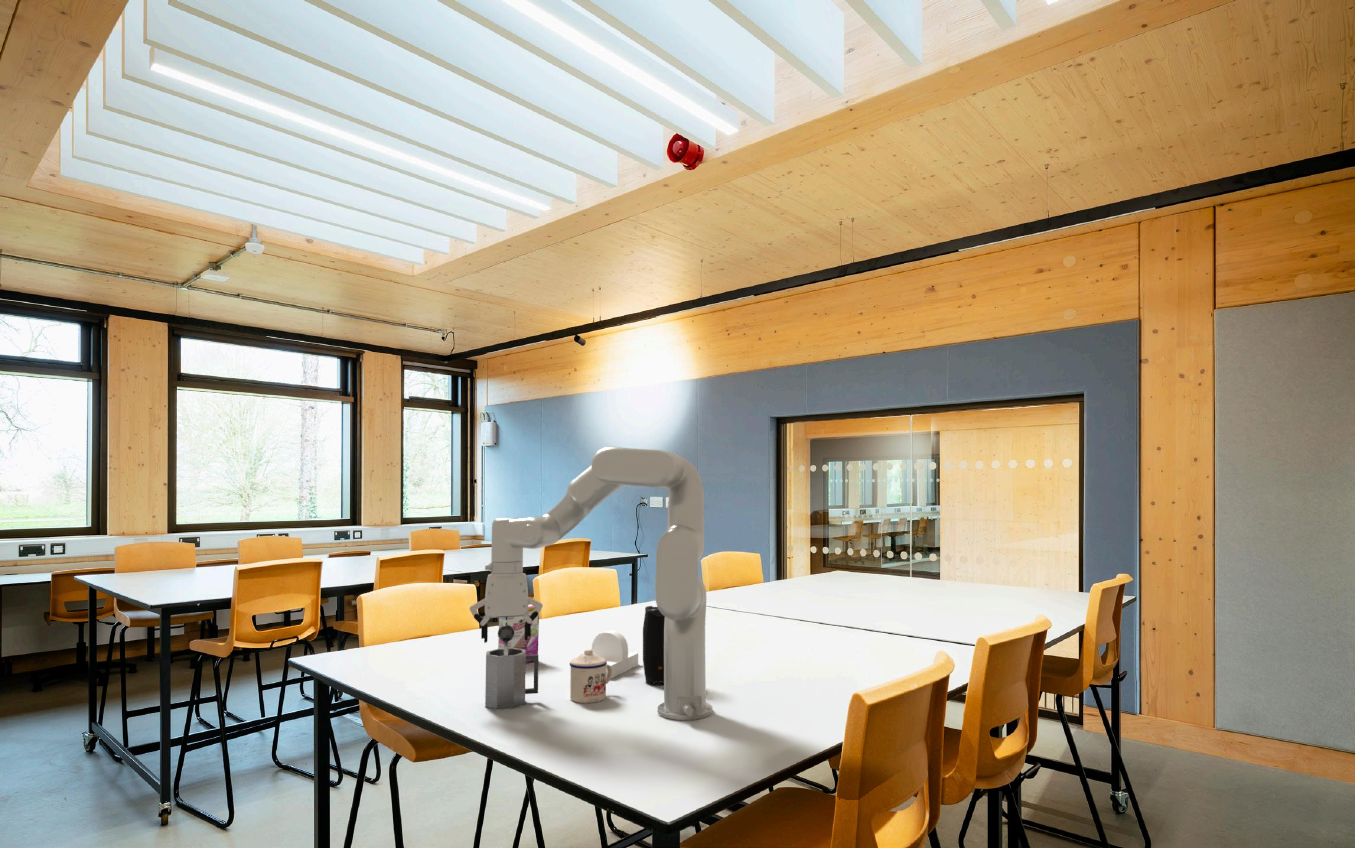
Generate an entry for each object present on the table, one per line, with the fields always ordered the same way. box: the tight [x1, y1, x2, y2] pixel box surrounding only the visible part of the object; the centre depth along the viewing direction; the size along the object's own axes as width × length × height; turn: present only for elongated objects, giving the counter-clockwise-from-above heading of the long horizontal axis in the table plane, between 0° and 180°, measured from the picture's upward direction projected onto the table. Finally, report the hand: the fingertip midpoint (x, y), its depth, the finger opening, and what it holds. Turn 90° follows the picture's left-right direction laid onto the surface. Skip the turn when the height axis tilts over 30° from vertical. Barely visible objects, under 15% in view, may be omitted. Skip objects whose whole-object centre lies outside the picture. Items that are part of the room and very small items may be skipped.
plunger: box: [497, 625, 515, 656], centre depth 179 cm, size 6×6×16 cm
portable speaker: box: [642, 605, 665, 686], centre depth 198 cm, size 9×9×20 cm
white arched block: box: [591, 629, 639, 679], centre depth 212 cm, size 18×10×11 cm, turn 157°
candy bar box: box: [497, 604, 540, 663], centre depth 222 cm, size 11×5×16 cm, turn 130°
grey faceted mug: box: [484, 648, 539, 710], centre depth 179 cm, size 9×12×12 cm
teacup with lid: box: [569, 648, 612, 704], centre depth 184 cm, size 12×9×12 cm
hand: (506, 640), depth 180 cm, fingers open, 9 cm apart
